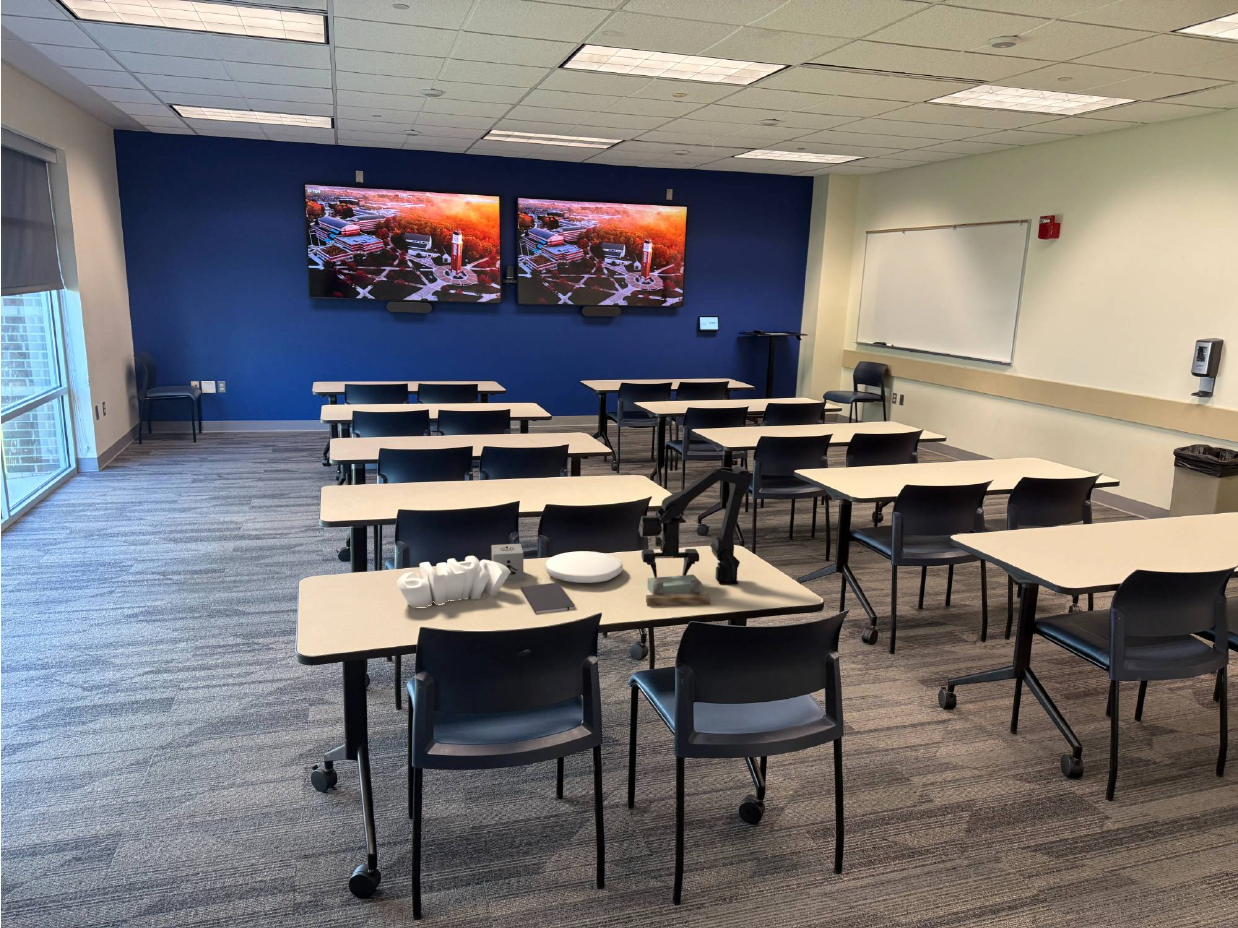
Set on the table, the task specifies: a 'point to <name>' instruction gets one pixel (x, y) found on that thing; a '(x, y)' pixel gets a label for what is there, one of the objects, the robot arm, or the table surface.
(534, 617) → the table surface
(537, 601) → the notebook
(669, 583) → the painted plate block
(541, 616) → the table surface
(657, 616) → the table surface
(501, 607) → the table surface
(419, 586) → the white wavy slab sculpture
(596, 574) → the plate
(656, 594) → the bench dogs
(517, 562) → the icon cube
